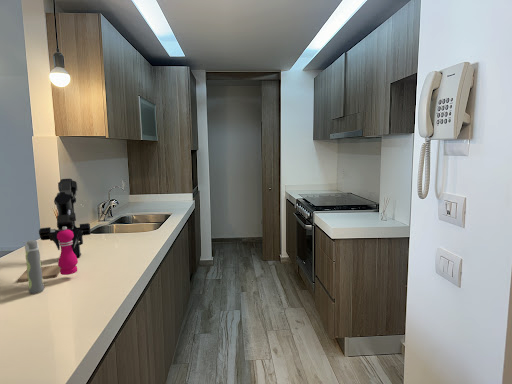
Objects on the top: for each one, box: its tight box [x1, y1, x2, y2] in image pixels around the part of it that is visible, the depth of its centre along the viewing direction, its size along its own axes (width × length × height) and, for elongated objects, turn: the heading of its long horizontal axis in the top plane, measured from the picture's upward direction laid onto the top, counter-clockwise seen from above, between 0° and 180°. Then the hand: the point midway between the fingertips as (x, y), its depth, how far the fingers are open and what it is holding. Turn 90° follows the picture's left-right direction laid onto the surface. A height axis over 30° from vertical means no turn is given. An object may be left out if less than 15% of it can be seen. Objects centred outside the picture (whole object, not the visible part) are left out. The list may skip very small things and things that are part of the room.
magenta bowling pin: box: [57, 226, 79, 276], centre depth 136 cm, size 7×7×20 cm
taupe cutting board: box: [17, 264, 61, 283], centre depth 143 cm, size 14×14×1 cm
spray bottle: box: [24, 239, 45, 295], centre depth 124 cm, size 5×5×20 cm
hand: (66, 248), depth 135 cm, fingers closed on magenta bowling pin, 5 cm apart
